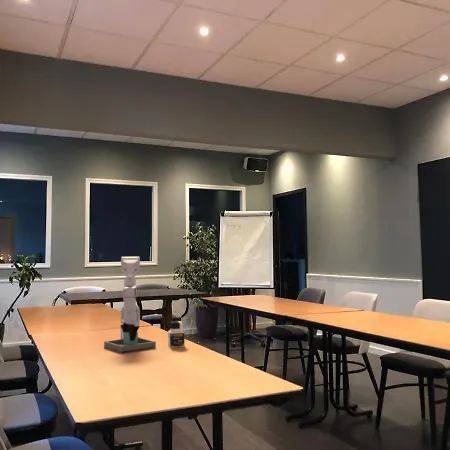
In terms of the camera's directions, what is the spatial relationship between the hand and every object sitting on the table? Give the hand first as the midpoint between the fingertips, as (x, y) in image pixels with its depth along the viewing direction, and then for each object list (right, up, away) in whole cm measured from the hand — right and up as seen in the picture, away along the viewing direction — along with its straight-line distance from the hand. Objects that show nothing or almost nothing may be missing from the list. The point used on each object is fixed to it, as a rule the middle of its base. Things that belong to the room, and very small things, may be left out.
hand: (129, 339), depth 224 cm
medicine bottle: (+22, -4, +3) cm, 23 cm away
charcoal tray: (0, -4, 0) cm, 4 cm away
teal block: (0, -2, 0) cm, 2 cm away
